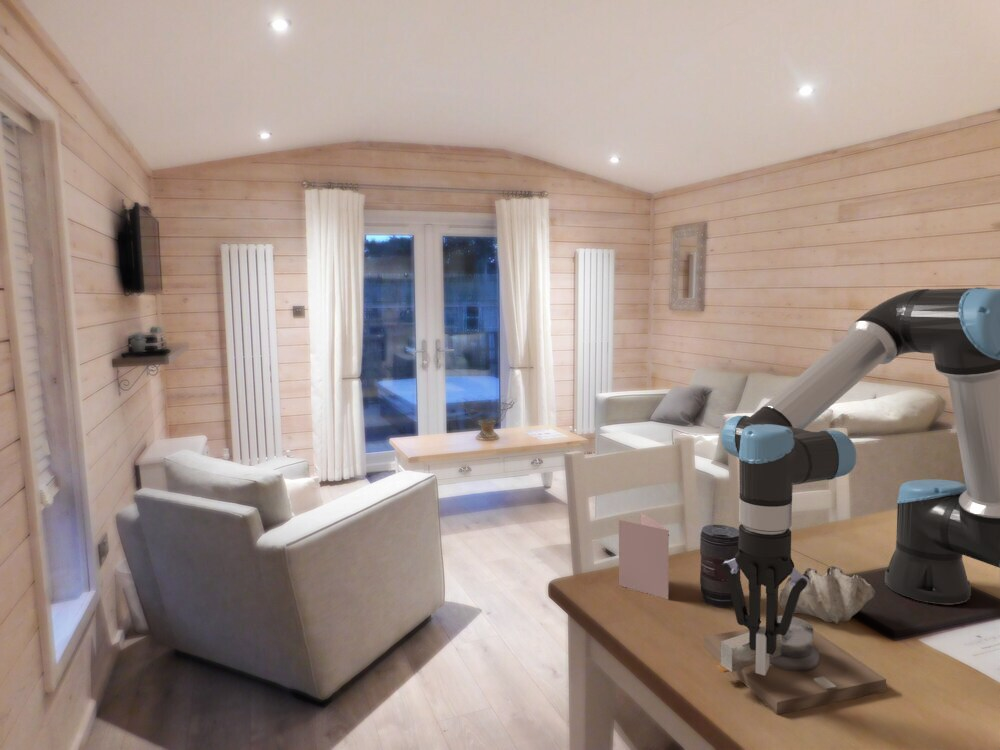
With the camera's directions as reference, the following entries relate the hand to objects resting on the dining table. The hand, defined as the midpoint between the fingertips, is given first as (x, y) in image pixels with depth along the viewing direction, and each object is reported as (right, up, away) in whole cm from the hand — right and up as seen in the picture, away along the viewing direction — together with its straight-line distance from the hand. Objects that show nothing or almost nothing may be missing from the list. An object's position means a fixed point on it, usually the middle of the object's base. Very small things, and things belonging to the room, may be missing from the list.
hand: (762, 670), depth 105 cm
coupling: (+3, +1, +5) cm, 5 cm away
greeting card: (-11, 0, +38) cm, 39 cm away
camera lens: (+4, 0, +32) cm, 32 cm away
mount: (+6, -3, +7) cm, 10 cm away
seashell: (+22, -1, +24) cm, 32 cm away
